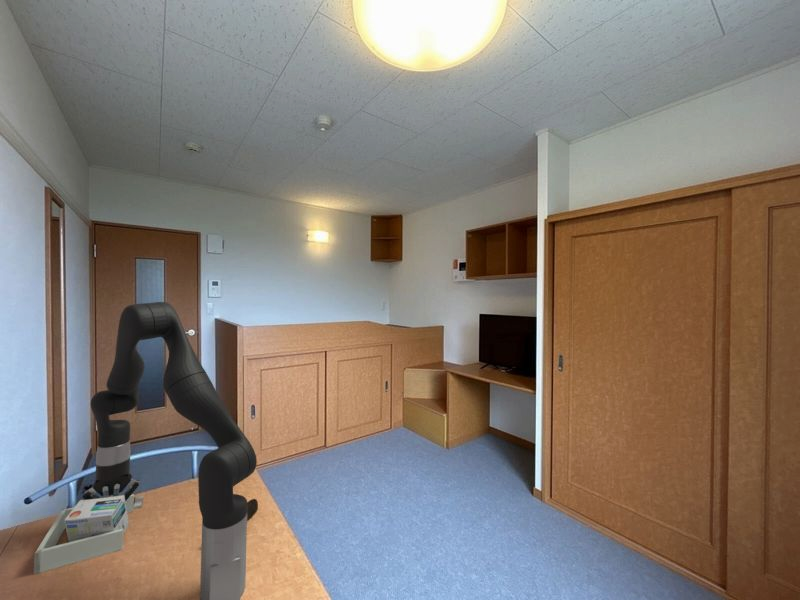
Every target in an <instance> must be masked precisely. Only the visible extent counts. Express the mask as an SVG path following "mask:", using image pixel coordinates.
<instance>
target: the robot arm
mask: <svg viewBox="0 0 800 600" xmlns="http://www.w3.org/2000/svg"><path fill="white" fill-rule="evenodd" d="M156 338H162V339H163V341H165V345H166V347H167V351H168V359H167V364H166V367H165V371H164V375H163V381H162V385H163V389H164V391H165V394H166V395H167V398H168V399H169V401H170V403H171V405H172V406H173V409H174V410H175V411H176V413H178V414H179V415H180V416H182V417H183V418H185V419H187V420H188V421H190V422H191V423H193V424H195V425H197V426H198V427H200V428H201V429H203V430H205V432H206V433H208V434H209V435H210V437H211V438H212V440H213V442H215V444H216V447H217V448H216V449H214V450H212V451H210V452H208V453H207V454H205V455H204V456H203V457H202V459H200V463H199V466H198V474H197V479H198V480H197V481H198V486H197V487H198V506H199V510H200V514H201V517H202V518H201V519H202V521H201V523H202V524H201V543H200V544H201V545H200V546H201V547H200V548H201V550H200V551H201V552H200V553H201V555H200V578H199V579H200V583H199V584H200V585H199V586H200V587H199V589H200V590H199V600H241V597H242V595H243V594H244V592H245V589H246V574H247V572H246V571H247V570H246V569H247V567H246V566H247V537H248V535H247V534H248V533H247V532H248V531H247V530H248V521H247V509H248V503H247V502H248V500H247V498H246V497H245V496H244V495H241V494H237V493H234V487H235V486H236V485H238V484H239V483H241V482H242V481H244V480H245V479H247V478H249V477H250V476H251V475H252V474H254V472H255V471H256V468H257V462H258V461H257V460H258V459H257V455H256V452H255V449H254V447H253V445H252V444H251V442H250V441H249V440H248V438H247V436H246V435H245V434H244V433H243V431H242V429H240V427H239V426H238V424H237V423H236V422H235V420H234V419H233V417H232V415H231V414H230V413H229V411H228V409H227V407H226V406H225V404H224V402H223V401H222V399H221V397H220V396H219V394H218V392H217V390H216V388H215V386H214V384H213V382H212V381H211V379H210V377H209V375H208V374H207V371H206V369H204V367H203V365H202V363H201V361H200V359H199V358H198V355H196V352H195V351H194V349H193V346H192V344H191V343H190V341H189V338H188V335H187V334H186V331H185V329H184V327H183V324H182V322H181V318H180V317H179V315H178V312H177V311H176V310H175V308H174V307H173V306H172V305H171V304H170V303H169V302H165V301H155V302H147V303H146V302H145V303H143V302H142V303H134V304H130V305H127V306H125V308H124V309H123V310H122V312H121V315H120V318H119V321H118V329H117V336H116V343H115V355H114V360H113V361H114V362H113V365H112V367H111V370H110V372H109V376H108V378H107V381H106V390H101V391H97V392H96V393H95V394H94V395H93V396H92V398H91V399H90V409H91V411H92V415H93V417H94V419H95V423H96V426H97V434H98V435H97V449H96V456H95V476H94V477H95V478H94V479H95V480H94V482H93V485H92V486H91V487H90V488H89V489H86V490H85V491H84V492H83V495H82V498H83V500H87V499H97V498H101V497H102V498H106V497H113V496H120V495H121V493H122V492H123V491H124V490H125V488H126V487H127V486H128V485H129V486H128V489H127V490H126V492H124V494H123V495H124V496H125V502H126V500H127V499H128V498H129V497H130V496H131V495H132V494H133V493H134V492H135V491H136V490H137V488H139V485H140V483H141V480H140V479H134V478H133V476H132V474H131V473H130V472H131V454H132V451H131V441H130V439H131V423H130V421H129V420H126V419H110V416H111V415H117V414H120V413H121V414H122V413H126V412H127V413H128V412H130V411H132V410H134V409H135V408H136V407H137V406H138V405H139V401H140V400H139V397H140V396H139V385H140V382H141V379H142V377H143V375H144V371H145V368H146V367H145V366H146V365H145V361H144V359H143V357H142V356H141V354H140V353H139V352H138V350H137V348H136V347H137V346H138V344H139V342H140V341H145V340H146V341H147V340H152V339H156ZM96 493H98V495H100V496H101V497H100V496H98V495H97V494H96Z"/></svg>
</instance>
